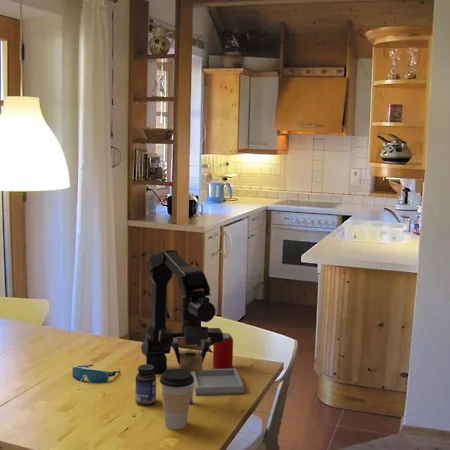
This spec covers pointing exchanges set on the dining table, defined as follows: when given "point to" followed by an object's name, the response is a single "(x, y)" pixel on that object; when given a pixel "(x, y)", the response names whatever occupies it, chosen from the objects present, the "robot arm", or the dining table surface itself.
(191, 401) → the metal cylinder
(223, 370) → the tray
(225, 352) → the beverage can
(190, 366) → the wooden frame block
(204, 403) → the dining table surface
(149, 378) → the pill bottle
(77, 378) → the sunglasses
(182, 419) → the coffee cup
